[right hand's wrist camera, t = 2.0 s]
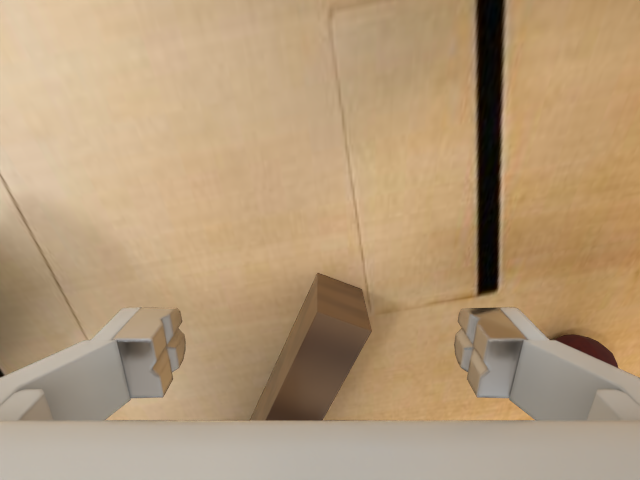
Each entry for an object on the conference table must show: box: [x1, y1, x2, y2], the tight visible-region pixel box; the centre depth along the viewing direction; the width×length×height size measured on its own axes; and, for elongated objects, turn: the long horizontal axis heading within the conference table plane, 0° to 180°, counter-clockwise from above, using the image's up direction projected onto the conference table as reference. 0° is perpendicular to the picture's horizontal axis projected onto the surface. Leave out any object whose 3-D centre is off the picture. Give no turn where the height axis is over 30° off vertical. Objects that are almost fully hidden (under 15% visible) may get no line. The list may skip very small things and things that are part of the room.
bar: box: [250, 273, 371, 421], centre depth 42 cm, size 28×6×8 cm, turn 157°
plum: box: [555, 335, 618, 368], centre depth 41 cm, size 7×8×7 cm
